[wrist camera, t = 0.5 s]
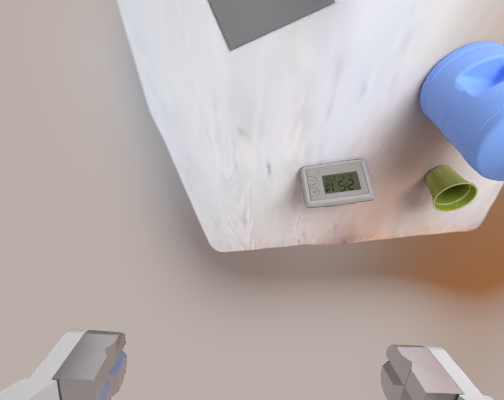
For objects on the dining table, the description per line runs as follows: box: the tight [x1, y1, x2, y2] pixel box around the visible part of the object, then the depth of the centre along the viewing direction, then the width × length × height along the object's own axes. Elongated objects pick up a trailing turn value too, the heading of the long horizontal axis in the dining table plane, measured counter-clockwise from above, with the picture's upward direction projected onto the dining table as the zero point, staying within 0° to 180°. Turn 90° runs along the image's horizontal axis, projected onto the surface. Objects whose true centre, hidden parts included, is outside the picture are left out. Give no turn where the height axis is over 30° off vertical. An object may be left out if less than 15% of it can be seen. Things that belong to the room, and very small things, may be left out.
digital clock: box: [300, 159, 375, 208], centre depth 68 cm, size 16×9×11 cm, turn 89°
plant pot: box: [425, 166, 478, 211], centre depth 69 cm, size 9×9×9 cm
